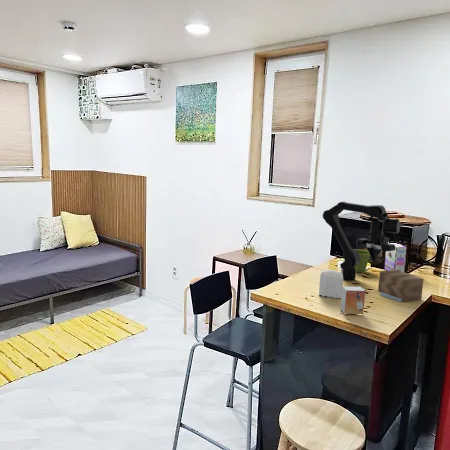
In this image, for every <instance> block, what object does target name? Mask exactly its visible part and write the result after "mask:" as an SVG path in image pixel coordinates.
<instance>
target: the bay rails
mask: <svg viewBox="0 0 450 450" xmlns="http://www.w3.org/2000/svg"><path fill="white" fill-rule="evenodd" d="M379 296H380V297H382V298H386V299H389V300H392V301H395V302H398V303H401V302H403V301H402V299H400V298H397V297H394V296H391V295H388V294H385V293H381V292H380V293H379Z"/></svg>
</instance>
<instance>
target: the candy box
mask: <svg viewBox="0 0 450 450" xmlns="http://www.w3.org/2000/svg"><path fill="white" fill-rule="evenodd" d="M388 243H389V242H388ZM397 243H398V242H397ZM397 243H389V244H394V245H395V250H393V251H385V257H384V258H385V260H384V271H387V270H395V269H396V270H399V271H402V272H405V269H406V268H405V266H406V259H407V258H406V256H407V249H408V248H407V246H404V245H403V244H400V243H399V244H397Z"/></svg>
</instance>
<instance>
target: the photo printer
mask: <svg viewBox="0 0 450 450" xmlns="http://www.w3.org/2000/svg"><path fill="white" fill-rule="evenodd" d="M342 286H344V280H343V273H341V271H338V270H333V269H332V270H331V269H326V270H322V271H321V272H320V276H319V287H318V296H319V295H322V296H321V297H324V296H327V297H326V298H332V297H333V299H339V298H341V293H342Z"/></svg>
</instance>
